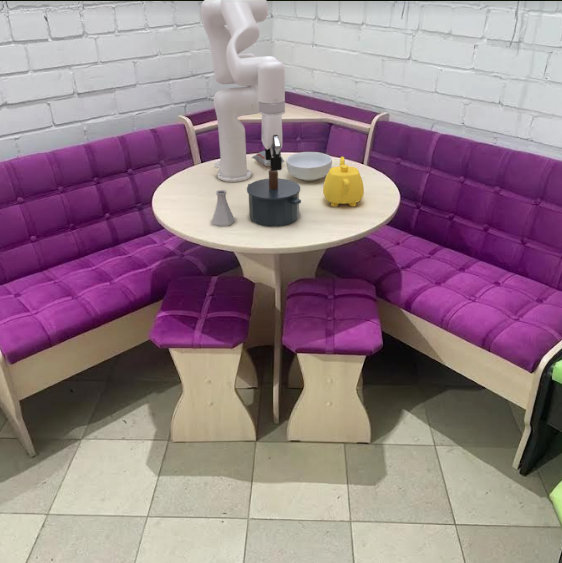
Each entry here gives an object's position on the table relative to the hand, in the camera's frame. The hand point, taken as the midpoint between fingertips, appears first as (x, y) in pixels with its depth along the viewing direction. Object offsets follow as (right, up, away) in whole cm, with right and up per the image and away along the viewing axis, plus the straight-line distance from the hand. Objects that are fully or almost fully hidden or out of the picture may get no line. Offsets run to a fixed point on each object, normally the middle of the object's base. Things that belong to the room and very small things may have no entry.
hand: (273, 164), depth 170 cm
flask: (-16, -17, +6) cm, 24 cm away
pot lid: (0, -7, +4) cm, 8 cm away
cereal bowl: (+13, +3, +38) cm, 40 cm away
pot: (0, -15, +9) cm, 17 cm away
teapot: (+23, -8, +19) cm, 31 cm away
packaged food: (-3, +10, +51) cm, 52 cm away
